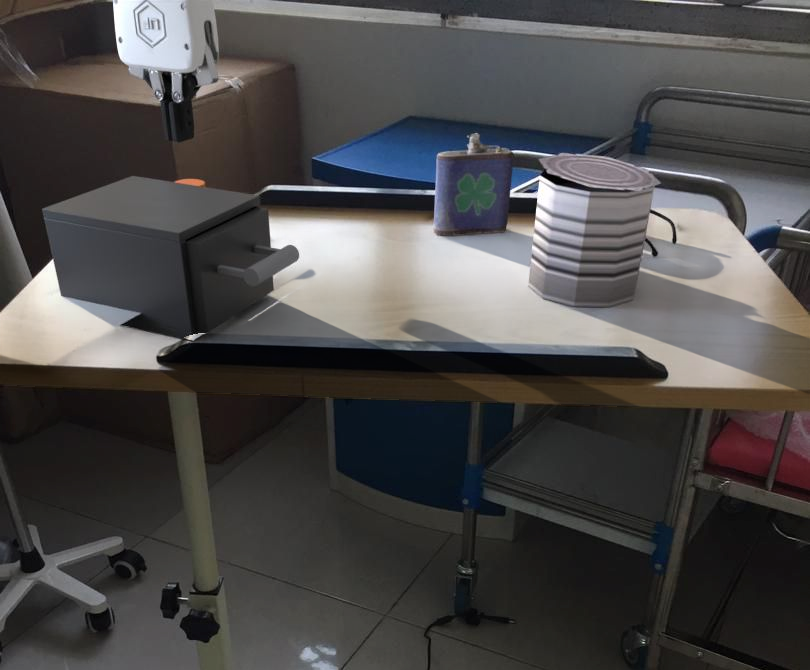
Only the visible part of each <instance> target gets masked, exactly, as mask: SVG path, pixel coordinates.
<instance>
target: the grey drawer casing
mask: <svg viewBox="0 0 810 670" xmlns="http://www.w3.org/2000/svg"><path fill="white" fill-rule="evenodd" d="M257 207H259V208H262V207H261V196H260V195H258V194H257V195H256V194H252V193H247V192H239V191H233V190H227V189H219V188H214V187H208V186H207V187H206V186H205V187H201V186H195V185H188V184H182V183H175V181H168V180H163V179H155V178H150V177H143V176H137V175H131V176H129V177H125V178H122V179H121V180H117V181H115V182H112V183H109V184H107V185H104V186H101V187H98V188H96V189H93V190H90V191H87V192H84V193H82V194H78V195H76V196H74V197H71V198H68V199H66V200H62V201H60V202H56V203H54V204H51V205H48V206H45V207H42V209H41V211H42V216H43V219H44V220H43V221H44V224H45V229H46V234H47V237H48V242H49V247H50V251H51V256H52V261H53V265H54V269H55V275H56V280H57V283H58V288H59V293H60V297H64V298H68V299H73V300H77V301H83V302H87V303H93V304H95V305H96V304H97V305H101V306H105V307H111V308H115V309H119V310H124V311H129V312H133V313H138V314H137V315H135V316H133V317H131V318H130V319H128V320H126V321H124V322H123V323H120V326H121V327H127V328H131V329H136V330H140V331H145V332H148V333H154V334H158V335H162V336H167V337H172V338H175V339H180V340H184V339H183V338H184V337H186V336H189V335H193V334H198V333H206V334H208V333H209V332H211V331H212V330H214V329H215V328H217V327H219V326H220V325H222V324H224V323H225V322H226V321H228V320H230V319H232V318H233V317H234V316H236V315H238V314H240V313H241V312H242V311H245V310H246V309H247V308H249V307H250V306H252V305H253V304H255V303H257V302H258V301H261V299H263V298H265V297H266V296H267V295H265V296H264V297H262V298H261V299H259V300H258V301H256V302H254V303H253V304H251V305H250V306H248V307H246V308H245V309H243V310H242V311H240V312H238V313H237V314H235V315H234V316H232V317H230V318H229V319H227V320H226V321H224V322H223V323H221V324H219V325H218V326H216V327H215V328H213V329H211V330H210V331H208V332H205V331H200V330H196V323H195V316H194V308H193V300H192V292H191V284H190V276H189V268H188V260H187V252H186V244H185V242H186V241H185V240H187V239H189V238H191V237H193V236H195V235H197V234H199V233H201V232H203V231H205V230H207V229H210V228H212V227H214V226H216V225H218V224H220V223H222V222H224V221H226V220H228V219H230V218H232V217H235V216H237V215H239V214H241V213H242V214H245V213H247V212H249V211H251V210H253V209H255V208H257Z"/></svg>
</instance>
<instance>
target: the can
mask: <svg viewBox="0 0 810 670" xmlns="http://www.w3.org/2000/svg"><path fill="white" fill-rule="evenodd" d="M537 160H538V161H539V163H540V164H541V166H542V167H543V168H544V170H543V171H542V172H541V173H540V175H539V181H538V191H537V201H536V210H535V220H534V228H533V236H532V247H531V256H530V264H529V265H530V266H529V275H528V284H527V287H528V288H529V289H530V290H532V291H533V292H534V293H535V294H537V296H538V297H540V298H541V299H543V300H548V301H549V302H550V301H551V302H554V303H559V304H562V305H566V306H570V307H572V308H573V307H574V308H611V307H615V306H618V305H621V304H625V303H628V302H631V301H633V300H634V297H635V293H636V290H637V286H638V280H639V274H640V270H641V264H642V263H641V262H642V258H643V252H644V248H645V247H644V246H645V243H646V242H645V238H646V236H647V230H648V226H649V225H648V224H649V220H650V214H651V213H650V209H651V210H652V204H653V196H654V191H655V186H658V185H660V184H662V182H661V181H660V180H659V179H658V178H657V177H656V176H655V175H654V174H653V173H652V172H650V170H649V169H648V168H645V167H642V166H638V165H636V164H632V163H628V162H626V161H622V160H618V159H616V158H612V157H610V156H605V155H604V156H602V155H591V154H582V153H571V152H570V153H569V152H560V153H555V154H552V155H548V156H544V157H541V158H538V159H537Z"/></svg>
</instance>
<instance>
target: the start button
mask: <svg viewBox="0 0 810 670" xmlns="http://www.w3.org/2000/svg"><path fill="white" fill-rule="evenodd" d="M174 182H175V183H182V184H188V185H195V186H201V187H206V182H205V180H202V179H197V178H183V179H178V180H175V181H174Z"/></svg>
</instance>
